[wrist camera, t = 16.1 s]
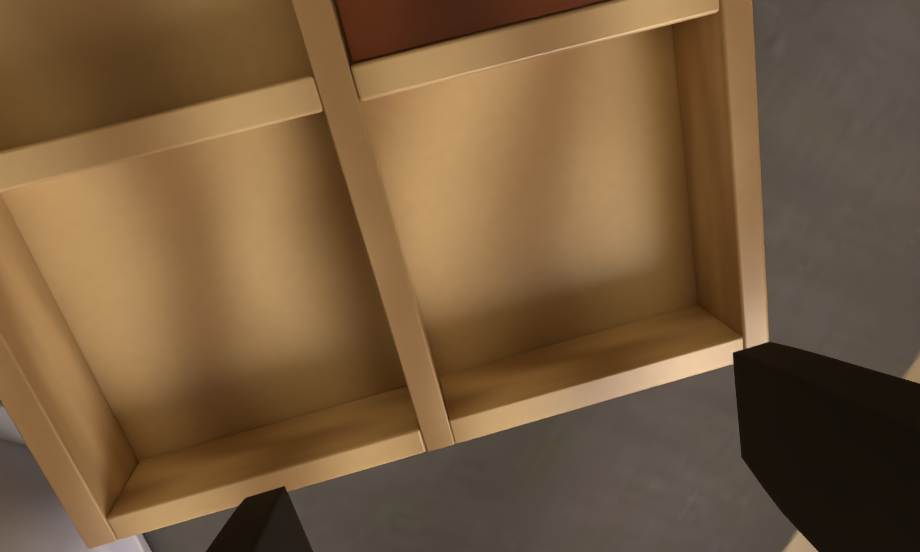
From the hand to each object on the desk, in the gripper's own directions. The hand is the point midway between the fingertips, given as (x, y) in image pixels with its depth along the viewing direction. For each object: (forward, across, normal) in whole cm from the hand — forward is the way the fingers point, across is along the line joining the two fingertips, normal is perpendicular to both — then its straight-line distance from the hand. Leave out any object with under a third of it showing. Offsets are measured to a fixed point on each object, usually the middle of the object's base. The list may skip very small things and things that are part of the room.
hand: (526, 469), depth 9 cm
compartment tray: (+9, +1, -6) cm, 11 cm away
